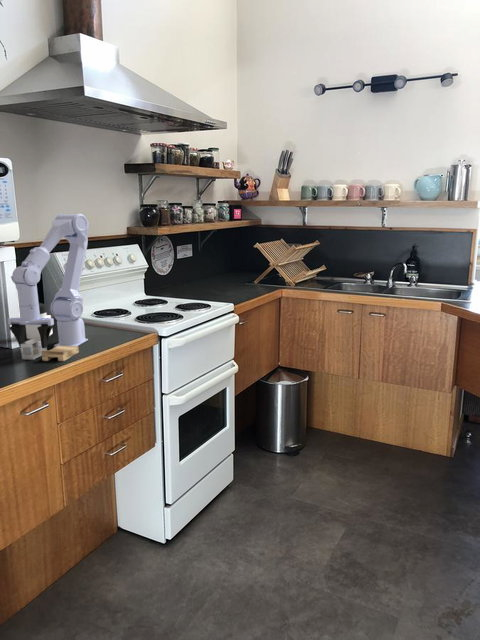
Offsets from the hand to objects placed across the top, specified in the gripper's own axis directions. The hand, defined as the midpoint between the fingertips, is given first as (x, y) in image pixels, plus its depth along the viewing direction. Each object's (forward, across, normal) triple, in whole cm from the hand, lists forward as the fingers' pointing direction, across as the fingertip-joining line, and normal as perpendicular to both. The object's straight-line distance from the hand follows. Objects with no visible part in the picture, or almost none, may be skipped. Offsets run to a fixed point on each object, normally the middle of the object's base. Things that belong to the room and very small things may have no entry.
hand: (33, 347), depth 166 cm
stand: (+3, +9, 0) cm, 9 cm away
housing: (+3, 0, 0) cm, 3 cm away
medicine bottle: (+3, -12, +24) cm, 27 cm away
